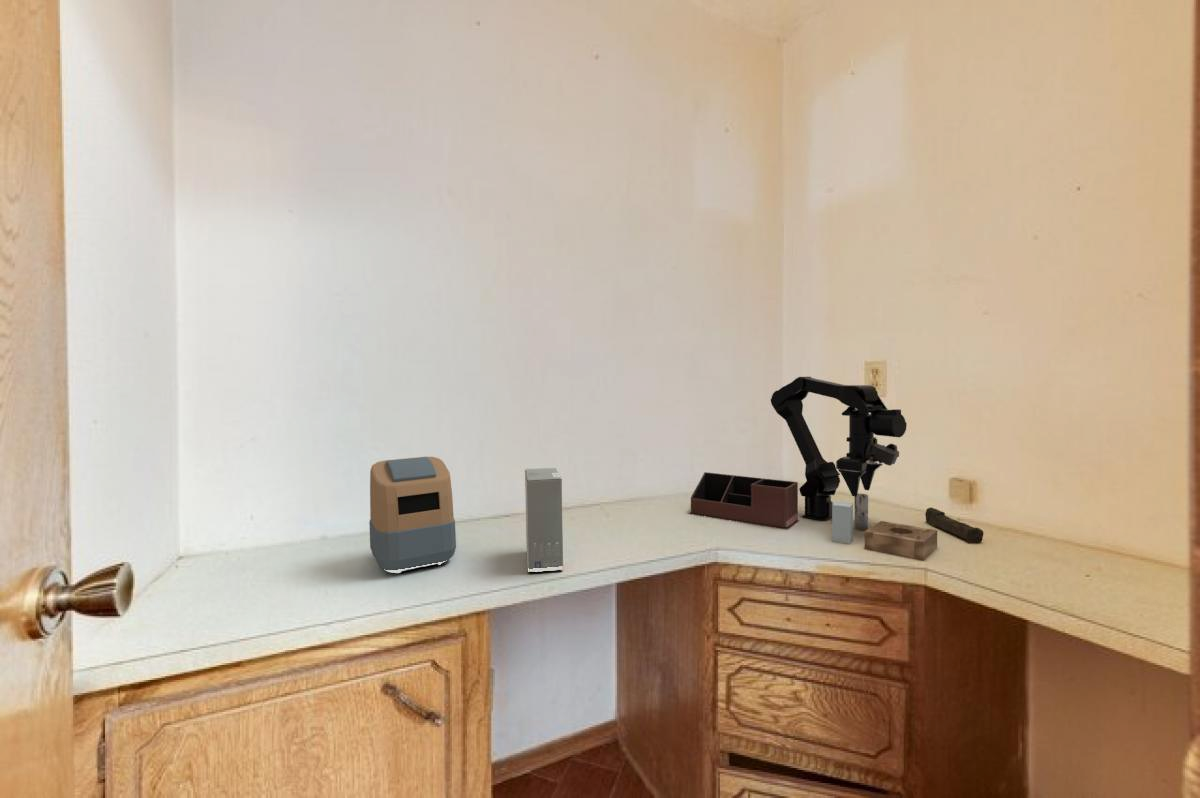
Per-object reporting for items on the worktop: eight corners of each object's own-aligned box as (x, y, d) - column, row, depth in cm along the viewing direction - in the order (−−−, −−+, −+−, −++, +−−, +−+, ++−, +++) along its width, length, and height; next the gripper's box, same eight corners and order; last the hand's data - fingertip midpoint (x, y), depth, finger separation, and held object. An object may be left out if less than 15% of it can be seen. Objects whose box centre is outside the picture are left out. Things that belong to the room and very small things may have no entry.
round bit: (852, 528, 138) (852, 494, 138) (856, 526, 141) (857, 492, 140) (865, 531, 136) (865, 496, 136) (869, 528, 138) (869, 494, 138)
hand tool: (984, 544, 125) (984, 525, 125) (967, 544, 125) (967, 525, 125) (936, 522, 144) (936, 506, 144) (921, 522, 144) (921, 506, 144)
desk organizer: (788, 531, 139) (787, 488, 138) (688, 514, 157) (687, 477, 156) (800, 521, 147) (800, 481, 147) (704, 507, 165) (703, 471, 164)
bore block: (864, 548, 123) (864, 531, 123) (881, 536, 131) (881, 520, 131) (923, 560, 114) (923, 542, 114) (937, 547, 123) (937, 530, 123)
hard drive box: (564, 572, 112) (562, 478, 111) (527, 575, 110) (525, 480, 110) (557, 548, 127) (556, 466, 126) (525, 551, 126) (523, 468, 125)
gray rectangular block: (832, 541, 129) (832, 504, 128) (835, 537, 132) (835, 501, 132) (850, 544, 126) (850, 506, 126) (853, 539, 130) (853, 503, 129)
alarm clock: (381, 581, 108) (377, 469, 107) (368, 558, 123) (364, 459, 122) (461, 564, 117) (458, 461, 116) (440, 545, 131) (437, 452, 130)
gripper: (883, 439, 125) (883, 504, 126) (906, 432, 138) (905, 491, 139) (835, 436, 133) (835, 497, 134) (861, 429, 146) (860, 485, 147)
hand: (860, 493), depth 138 cm, fingers open, 9 cm apart
